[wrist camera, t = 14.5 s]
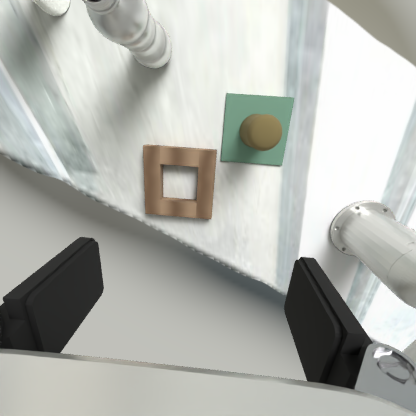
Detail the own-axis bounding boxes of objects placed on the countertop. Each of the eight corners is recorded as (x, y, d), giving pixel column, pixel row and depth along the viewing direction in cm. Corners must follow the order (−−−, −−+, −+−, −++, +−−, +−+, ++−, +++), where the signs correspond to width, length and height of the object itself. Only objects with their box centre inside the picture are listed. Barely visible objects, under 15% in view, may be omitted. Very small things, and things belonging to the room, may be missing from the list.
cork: (273, 113, 40) (291, 110, 30) (269, 148, 43) (284, 155, 32) (240, 113, 41) (246, 109, 31) (238, 147, 43) (243, 154, 33)
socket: (216, 149, 44) (216, 151, 42) (211, 215, 49) (211, 219, 47) (146, 144, 44) (143, 145, 42) (148, 209, 49) (145, 213, 47)
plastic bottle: (174, 72, 40) (131, 25, 21) (137, 70, 40) (61, 22, 21) (174, 28, 37) (125, -70, 19) (134, 26, 37) (47, -72, 19)
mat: (293, 97, 40) (294, 97, 39) (281, 165, 44) (281, 165, 44) (226, 93, 40) (226, 93, 40) (220, 160, 44) (221, 160, 44)
